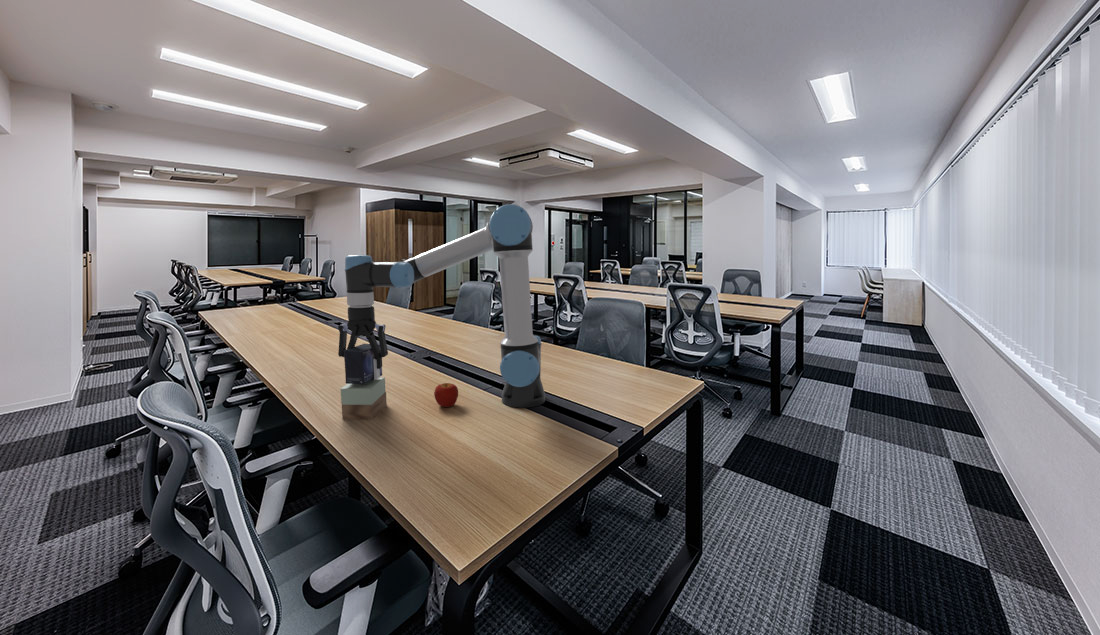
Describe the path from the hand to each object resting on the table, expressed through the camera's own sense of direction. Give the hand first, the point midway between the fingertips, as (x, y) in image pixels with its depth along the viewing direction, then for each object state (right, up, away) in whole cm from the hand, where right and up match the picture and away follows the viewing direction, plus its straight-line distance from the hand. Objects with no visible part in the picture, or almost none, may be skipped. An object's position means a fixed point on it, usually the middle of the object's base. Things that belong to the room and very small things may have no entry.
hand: (364, 378), depth 134 cm
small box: (0, -1, 0) cm, 1 cm away
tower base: (-1, -11, +2) cm, 11 cm away
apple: (+24, -11, +8) cm, 27 cm away
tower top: (0, -6, +1) cm, 6 cm away
